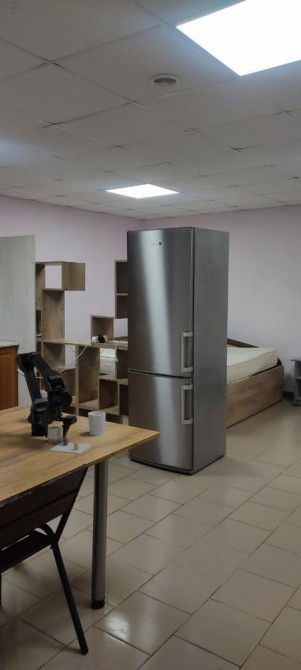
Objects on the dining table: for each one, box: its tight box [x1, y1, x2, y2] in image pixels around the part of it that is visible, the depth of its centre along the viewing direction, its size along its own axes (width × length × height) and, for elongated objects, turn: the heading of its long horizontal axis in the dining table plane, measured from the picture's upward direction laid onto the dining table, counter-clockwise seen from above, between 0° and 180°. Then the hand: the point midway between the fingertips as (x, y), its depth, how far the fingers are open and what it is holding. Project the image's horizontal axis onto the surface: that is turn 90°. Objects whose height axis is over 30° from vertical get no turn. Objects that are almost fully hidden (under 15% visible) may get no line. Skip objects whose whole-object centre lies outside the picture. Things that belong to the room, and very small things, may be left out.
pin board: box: [48, 436, 93, 455], centre depth 208 cm, size 14×11×4 cm
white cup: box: [87, 410, 107, 437], centre depth 228 cm, size 8×8×10 cm
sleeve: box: [47, 425, 63, 443], centre depth 218 cm, size 4×4×6 cm
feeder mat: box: [42, 437, 63, 445], centre depth 219 cm, size 8×8×1 cm
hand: (55, 438), depth 218 cm, fingers open, 8 cm apart
